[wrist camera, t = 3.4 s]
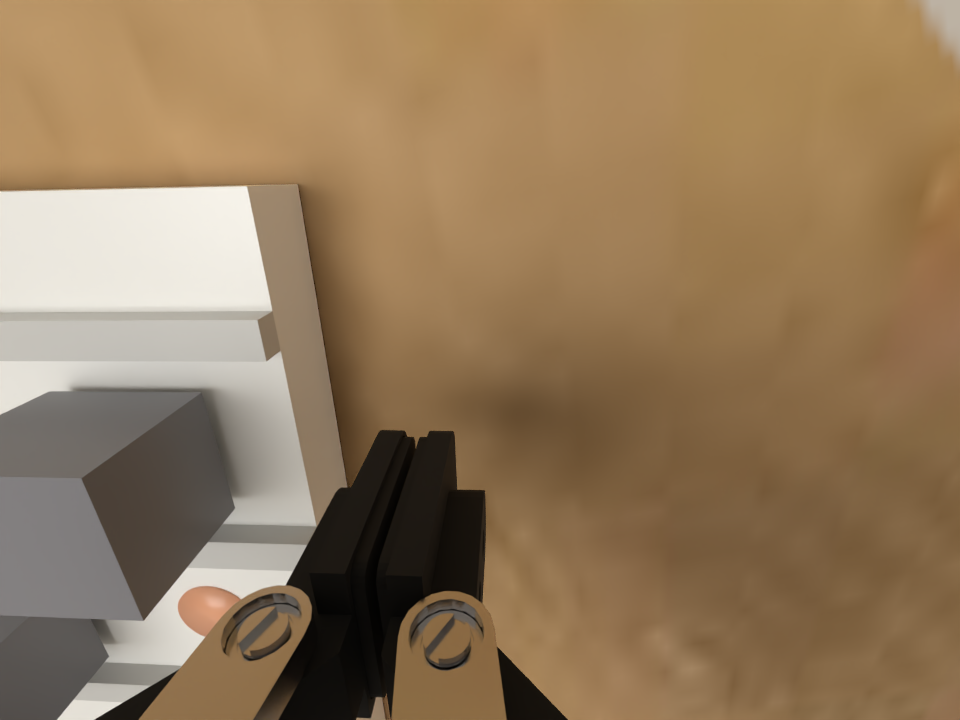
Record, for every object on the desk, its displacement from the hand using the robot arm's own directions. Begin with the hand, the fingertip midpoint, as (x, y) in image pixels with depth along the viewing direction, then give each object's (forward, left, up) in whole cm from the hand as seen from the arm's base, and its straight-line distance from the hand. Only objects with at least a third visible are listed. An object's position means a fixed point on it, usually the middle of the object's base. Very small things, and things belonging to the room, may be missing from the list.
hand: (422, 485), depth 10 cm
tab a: (+8, 0, -1) cm, 8 cm away
